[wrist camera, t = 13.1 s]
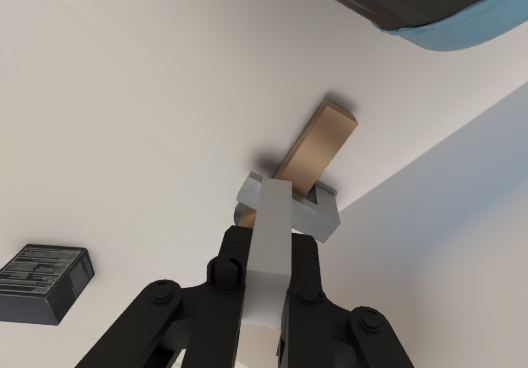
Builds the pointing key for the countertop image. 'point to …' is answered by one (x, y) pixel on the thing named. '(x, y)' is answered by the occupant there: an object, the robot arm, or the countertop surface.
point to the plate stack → (176, 365)
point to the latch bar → (311, 152)
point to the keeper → (301, 207)
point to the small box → (43, 283)
